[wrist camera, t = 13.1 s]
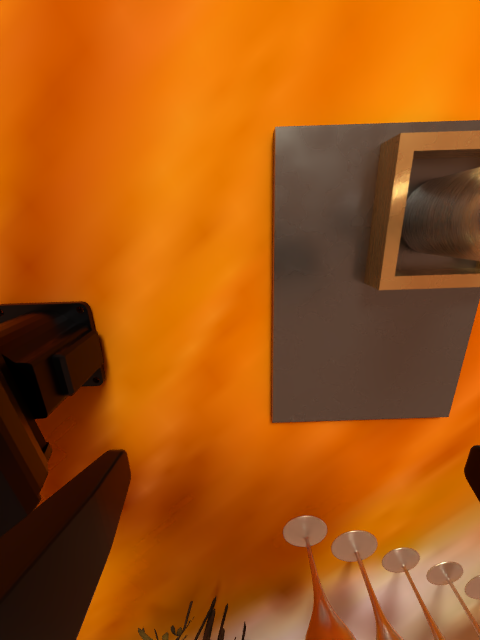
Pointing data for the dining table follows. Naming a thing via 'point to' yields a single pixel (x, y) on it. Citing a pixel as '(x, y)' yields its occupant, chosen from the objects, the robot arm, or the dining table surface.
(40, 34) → the dining table surface
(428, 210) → the shiny metal cylinder
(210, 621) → the dried plant
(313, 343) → the dark grey flat slab
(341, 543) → the goblet set
